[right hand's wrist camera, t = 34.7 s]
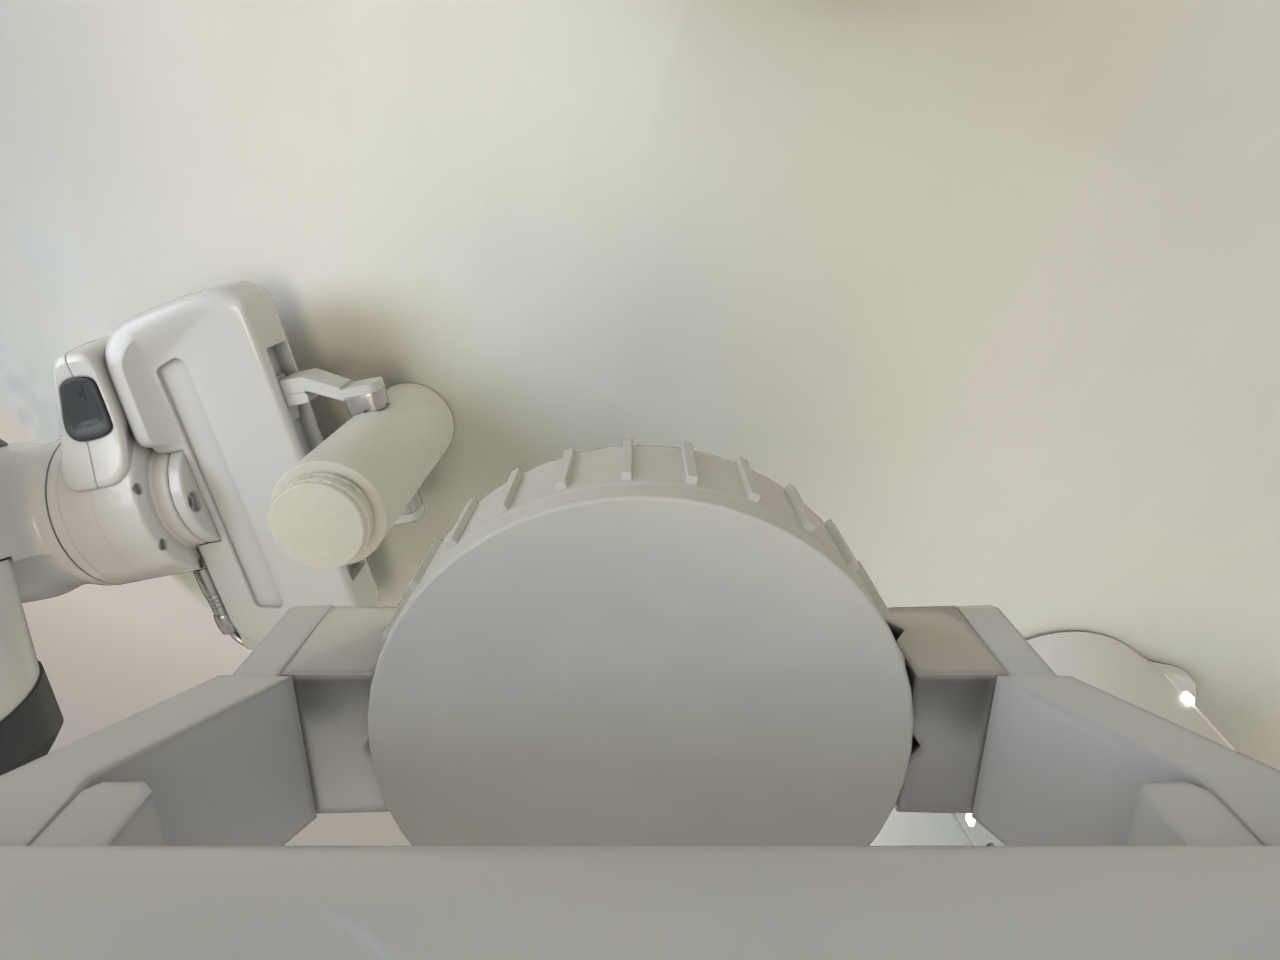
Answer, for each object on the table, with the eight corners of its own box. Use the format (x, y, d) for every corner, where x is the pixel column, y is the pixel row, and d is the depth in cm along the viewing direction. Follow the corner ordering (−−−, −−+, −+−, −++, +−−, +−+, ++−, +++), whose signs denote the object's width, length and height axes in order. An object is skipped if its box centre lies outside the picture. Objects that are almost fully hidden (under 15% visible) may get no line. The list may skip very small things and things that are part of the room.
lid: (315, 544, 9) (251, 616, 8) (789, 358, 8) (822, 395, 7) (526, 895, 11) (507, 1008, 10) (930, 767, 10) (981, 868, 9)
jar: (451, 382, 47) (369, 471, 33) (457, 463, 49) (382, 581, 34) (365, 382, 47) (246, 471, 33) (375, 462, 49) (266, 581, 34)
